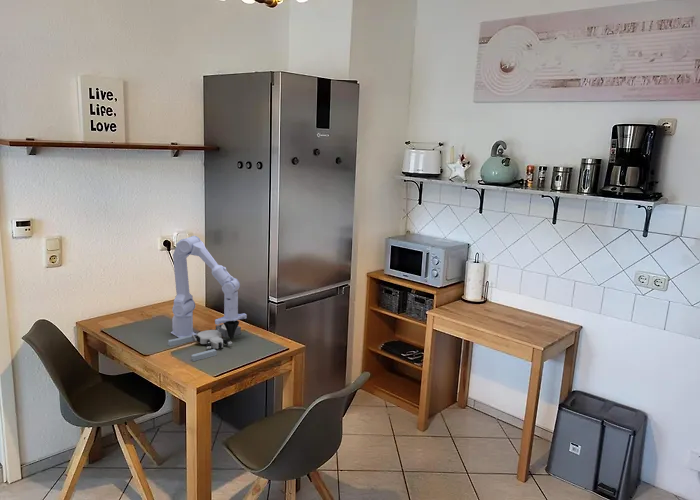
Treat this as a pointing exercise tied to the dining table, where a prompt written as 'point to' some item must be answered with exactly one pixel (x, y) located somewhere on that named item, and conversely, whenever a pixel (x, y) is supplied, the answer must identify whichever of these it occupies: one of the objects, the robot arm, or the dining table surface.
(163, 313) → the dining table surface
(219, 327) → the dome collar
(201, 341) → the robot toy
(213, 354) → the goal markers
